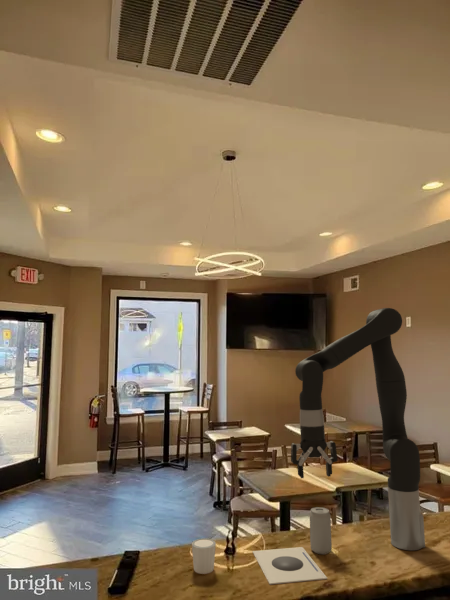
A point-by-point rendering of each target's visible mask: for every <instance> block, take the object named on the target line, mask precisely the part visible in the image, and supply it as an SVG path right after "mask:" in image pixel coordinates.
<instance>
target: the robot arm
mask: <svg viewBox="0 0 450 600" xmlns="http://www.w3.org/2000/svg"><path fill="white" fill-rule="evenodd" d="M402 325H403V319H402V314H400V312H399V311H398V310H397V309H395V308H392V307H383V308H378V309H374V310H373V311H371V312H369V314H367V317H366V321H365V325H363V326H362V327H360V328H358V329H357V330H354V331H353V332H350V333H349V334H347V335H344V336H342V337H340V338H338V339H337V340H335V341H333V342H331V343H330V344H328V345H327V346H326V347H324V348H323V349H321V350H319V351H318V352H316V353H313V354H312V355H310V356H308V357H306V358H304V359H303V360H301V361H300V362H298V363H297V365H296V366H295V370H294V371H295V373H294V374H295V376H296V378H297V379H298V380H299V381H300V382H302V386H301V387H302V388H301V390H302V391H300V392H299V427H300V428H299V429H300V443H294V442H292V443H291V444H290V461H291V463H292V464H293V465H297V475H298V476H299V477H300V479H304V478H305V474H304V463H305V461H306V460H307V459H308V458H310V459H311V458H320V457H322V458H323V459H324V461H325V462H326V463H325V472H326V473H325V474H326V476H327V477H331V476H332V474H333V466H332V465H333V463H336V462H338V453H337V451H338V450H337V446H336V445H337V444H336V442H335V441H333V440H330V441H328V442H326V435H325V434H326V432H325V419H324V418H325V417H324V412H323V399H322V392H323V385H324V372H326V371H328V370H331V369H335V368H337V367H338V366H340V365H341V364H343V363H344V362H346V361H347V360H348V359H350V358H352V357H353V356H354V355H356V354H357V353H360V352H361V351H362V350H364V349H366V348H367V347H369V346H370V348H371V353H372V354H371V355H372V362H373V369H374V375H375V385H376V392H377V398H378V405H379V411H380V412H379V413H380V416H381V417H380V418H381V423H382V424H381V425H382V449H383V450H382V451H383V453H384V456H385V457H386V458H387V460H388V461H390V463H389V464H390V475H389V476H388V478H387V497H388V511H389V513H388V514H389V530H390V531H389V532H390V536H389V537H390V544H391V545H392V546H393V547H395V548H398V549H400V550H405V551H419V550H421V549H422V548H426V539H425V537H426V536H425V523H424V522H425V521H424V515H423V514H422V513H421V505H420V504H421V503H420V489H419V488H420V487H419V485H420V482H421V457H420V451H419V447H418V446H417V444H416V443H415V441H414V440H411V439H410V438H408V434H407V429H406V424H405V413H406V412H405V410H406V405H407V399H408V397H407V396H408V395H407V391H408V390H407V385H406V377H405V374H404V371H403V368H402V367H401V364H400V362H399V361H398V359H397V357H396V355H395V351H394V350H393V346H392V344H393V343H392V337H391V336H392V335H394V334H396V333H397V332H399V331H400V329H401V327H402ZM327 448H328V449H329V450H330V457H329V456H328V454H327V453H326V452H325V450H326V449H327ZM299 449H301V450H302V452H301V453H300V454H299V455H300V456H299V457H297V454H298V452H299ZM297 458H298V459H297Z"/></svg>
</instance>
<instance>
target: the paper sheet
mask: <svg viewBox="0 0 450 600" xmlns="http://www.w3.org/2000/svg"><path fill="white" fill-rule="evenodd" d="M252 554H253V556H254V558H255V559H256V561H257V563H258V566H259V567H260V569H261V571H262V572H263V575H264V577H265V578H266V581H267V583H268V584H269V585H277V584H288V583H289V584H290V583H298V582H299V583H301V582H310V581H311V582H312V581H319V580H320V581H321V580H328V576H327V575H325V573H324V572H323V571H322V569H321V568H320V567H319V565H318V564H317V563H316V562H315V561H314V559H312V557H311V556H310V554H309V553H308V552H307V551H306V549H305V548H304V547H303V546H300V547H299V546H298V547H296V546H295V547H288V548H285V547H284V548H274V549H273V548H272V549H264V550H261V549H260V550H252Z"/></svg>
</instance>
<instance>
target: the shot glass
mask: <svg viewBox="0 0 450 600" xmlns="http://www.w3.org/2000/svg"><path fill="white" fill-rule="evenodd" d="M216 544H217V543H216V541H215V540H214V539H211V538H198V539H195V540H193V541H192V543H191V552H192V561H193V562H192V563H193V571H194V572H195V573H196V574H199V575H200V574H202V575H203V574H204V575H205V574H210V573H212V572H213V571H214V569H215V559H216V557H215V556H216V546H217V545H216Z"/></svg>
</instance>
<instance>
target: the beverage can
mask: <svg viewBox="0 0 450 600" xmlns="http://www.w3.org/2000/svg"><path fill="white" fill-rule="evenodd" d="M331 519H332V518H331V513H330V510H329V509H328V508H325V507H318V506H316V507H312V508H311V509H310V512H309V535H310V536H309V539H310V549H311V551H312V552H314V554H317V555H318V554H319V555H328V554H329V553H330V552H331V551H332V546H333V545H332V526H331V524H332V521H331Z"/></svg>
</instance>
